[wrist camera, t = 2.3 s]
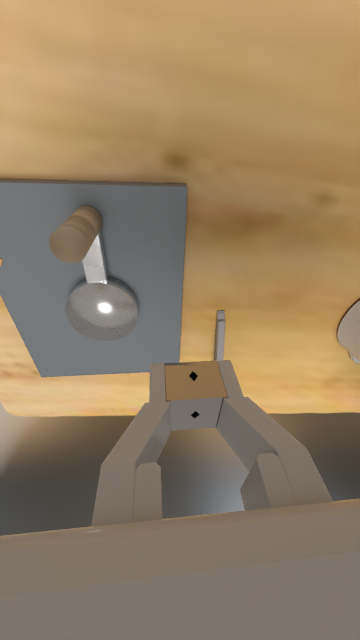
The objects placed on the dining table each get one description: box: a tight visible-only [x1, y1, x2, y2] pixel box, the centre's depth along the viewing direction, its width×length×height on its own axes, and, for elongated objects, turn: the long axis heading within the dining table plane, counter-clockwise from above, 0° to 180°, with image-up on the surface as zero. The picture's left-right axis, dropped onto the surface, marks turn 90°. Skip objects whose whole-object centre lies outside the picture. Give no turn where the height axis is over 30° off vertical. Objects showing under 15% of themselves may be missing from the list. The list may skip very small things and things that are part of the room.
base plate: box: [0, 179, 188, 377], centre depth 30 cm, size 21×26×2 cm
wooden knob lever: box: [49, 206, 138, 341], centre depth 24 cm, size 15×8×7 cm, turn 178°
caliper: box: [215, 310, 225, 361], centre depth 38 cm, size 20×1×6 cm, turn 1°
